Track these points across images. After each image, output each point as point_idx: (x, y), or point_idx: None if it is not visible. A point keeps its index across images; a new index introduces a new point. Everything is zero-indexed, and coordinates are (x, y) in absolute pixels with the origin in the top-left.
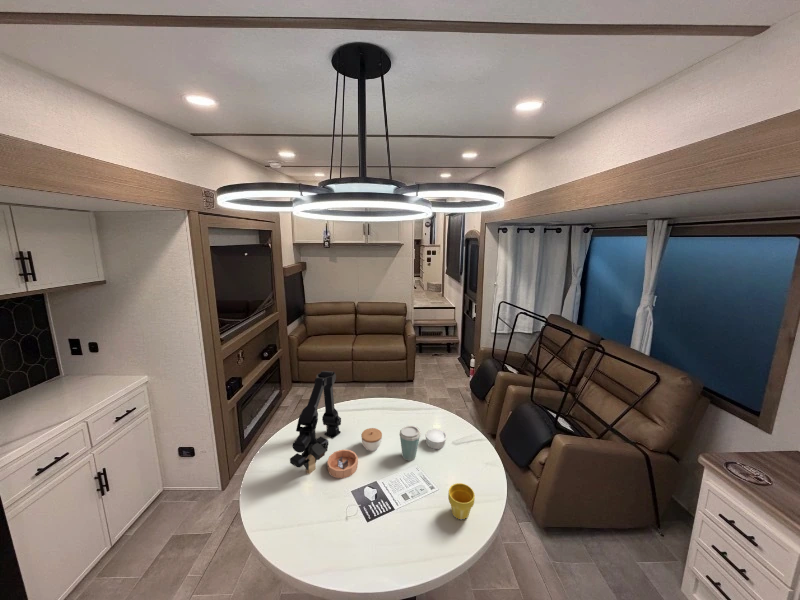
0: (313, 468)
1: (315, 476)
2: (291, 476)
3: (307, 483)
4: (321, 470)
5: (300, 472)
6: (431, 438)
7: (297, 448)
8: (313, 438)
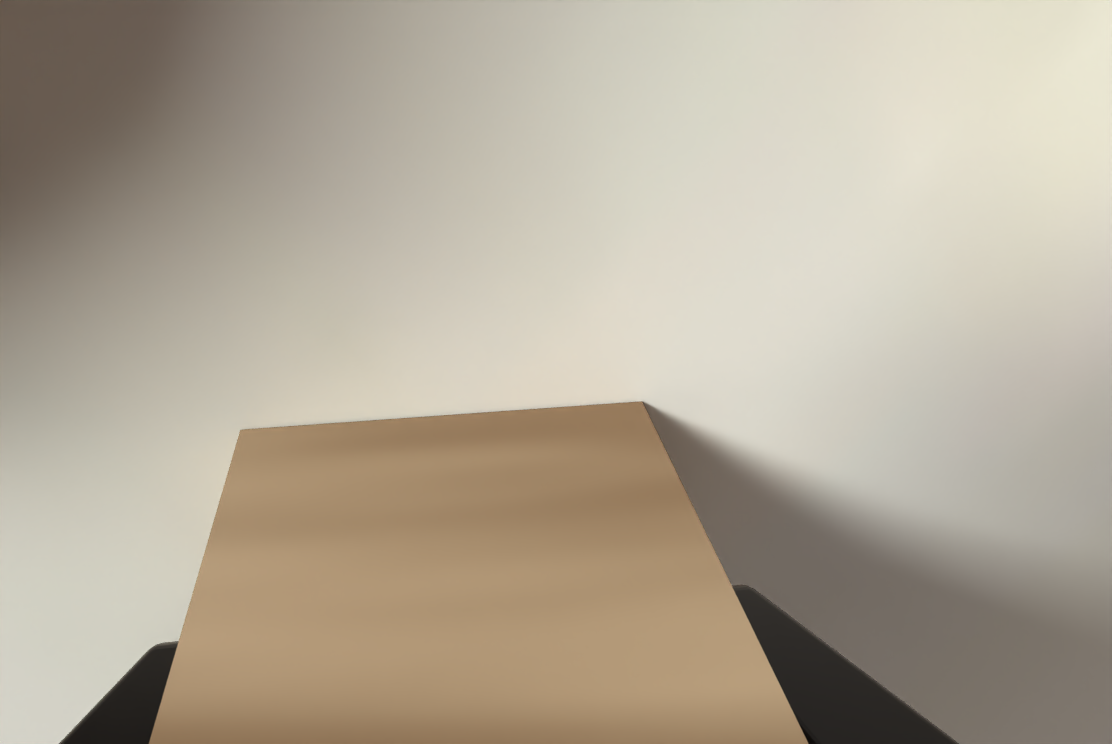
0: (376, 492)
1: (582, 62)
2: (993, 740)
3: (1099, 43)
4: (78, 123)
5: None
6: None
7: None
8: None
